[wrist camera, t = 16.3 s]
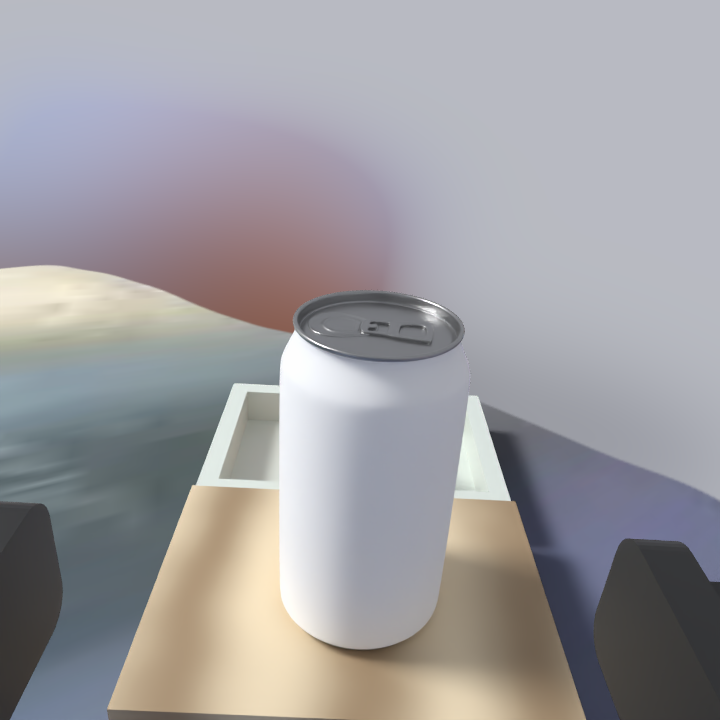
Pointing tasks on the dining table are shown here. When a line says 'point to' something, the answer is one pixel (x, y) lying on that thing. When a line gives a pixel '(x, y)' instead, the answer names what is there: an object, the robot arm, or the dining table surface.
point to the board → (330, 663)
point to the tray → (261, 447)
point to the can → (368, 463)
